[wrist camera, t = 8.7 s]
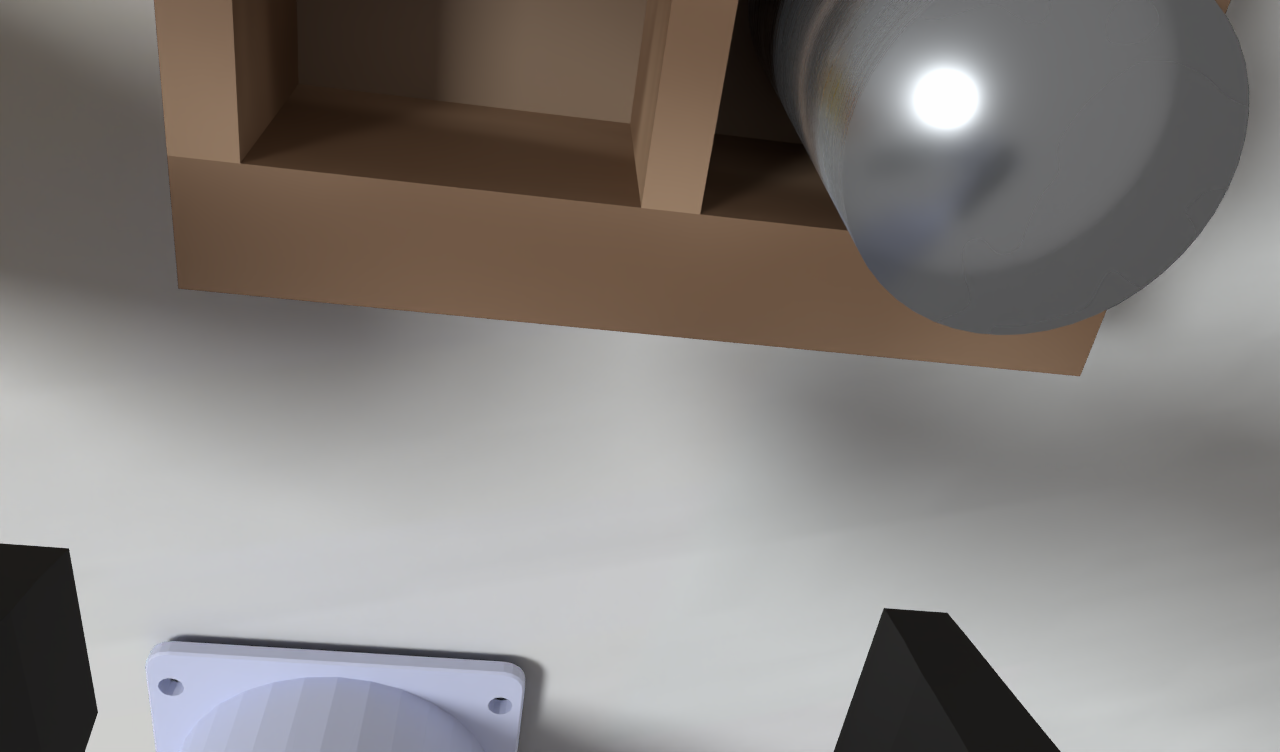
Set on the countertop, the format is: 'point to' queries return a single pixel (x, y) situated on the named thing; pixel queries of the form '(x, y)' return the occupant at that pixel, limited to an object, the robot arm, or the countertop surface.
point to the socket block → (525, 174)
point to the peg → (1012, 143)
